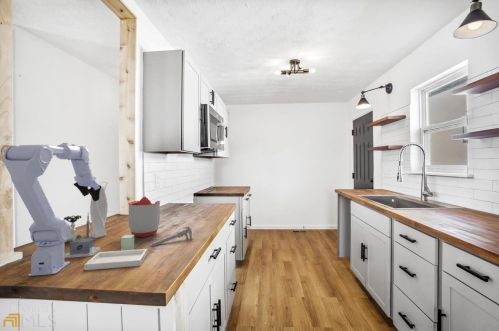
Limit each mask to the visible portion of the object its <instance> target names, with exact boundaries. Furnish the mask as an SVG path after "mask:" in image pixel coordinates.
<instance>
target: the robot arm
mask: <svg viewBox="0 0 499 331" xmlns="http://www.w3.org/2000/svg"><path fill="white" fill-rule="evenodd" d="M53 156H55V157H56V158H57V159H60V160H68V161H71V165H72V167H73V171H74V173H75V176H74V177H73V178H74V181H75V183H73V186H75V187H76V188H77V189H78V191H79V192H80V193H81V194H82V196H83V197H86V196H88V195H90V196H91V198H92V199H93V201H95V202H96V201H97V200H99V194H100V190H101V188H102V187H101V186H100V185H101V184H98V182H97V181H96V180H97V177H96V176H94V175H93V172H92V169H91V165H90V162H89V161H90V157H89V156H90V152H89V149H88V148H87V147H86V146H84V145H76V144H74V143H73V144H72V143H71V144H69V142H62V143H61V144H58V145H56V146H55V145H52V144H51V145H49V144H21V145H8V147H6V148H5V150H4V152H3V154H2V157H1V160H2V162H3V164H4V165H5V168H6V169H7V171H8V173H9V175H10V179H11V182H12V183H13V185H14V188H15V189H16V191H17V193H18V195H19V197H20V199H21V200H22V202H23V204H24V206H25V208H26V209H27V211H28V213H29V214H30V216H31V218H32V220H33V223H31V225H30V226H29V229H28V231H29V232H30V239H31V241H32V242H33V243H34V245H35V246H37V249H36V250H35V251H34V252H33V253H32V254H31V258H30V272H29V273H28V274H27V276H28V277H33V276H45V275H47V276H48V275H55V274H57V273H58V272H59V271H61V270H63V269H64V268H65V267H67V266H68V265H69V264H70V263H71V262H70V261H65V258H64V255H65V242H68V241H67V239H68V238H69V236H70V234H71V228H70V224H69V223H67V222H66V220H64V218H62V217H59V216H57V215H55V212H54V211H53V208H52V206H51V204H50V202H49V200H48V198H47V196H46V194H45V192H44V189H43V188H42V186H41V184H40V182H39V179H38V178H39V177H41V176H43V175H44V174H45V172H46V170H47V168H48V166H49V164H50V162H51V161H52V159H53Z"/></svg>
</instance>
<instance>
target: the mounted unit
mask: <svg viewBox="0 0 499 331" xmlns="http://www.w3.org/2000/svg"><path fill="white" fill-rule="evenodd" d="M95 239H96V238H82V239H76V240H74V241H72V242H69V252H67V253H65V254H64V259H69V258H82V257H94V256H95V255H96V254H97V253H98V252H100V251H101V247H102V246H96V245H95V244H96V242H95V241H96V240H95Z"/></svg>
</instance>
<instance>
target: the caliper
mask: <svg viewBox="0 0 499 331" xmlns="http://www.w3.org/2000/svg"><path fill="white" fill-rule="evenodd" d="M185 228H186V229H182V230H180V231H177V232H176V233H175V234H172V235H170V236H167V237H163V238H162V239H159V240H156V241H154V242H151V244H149V245H148V247H155V246H158V245H161V244H163V243H166V242H169V241H171V240H173V239H176V238H178V239H181V238H182V237H184V236H185V238H186V239H187V240H188V239H189V238H190V239H192V237H193V232H192V228H191V227H190V226H189V225H188V226H186V227H185Z"/></svg>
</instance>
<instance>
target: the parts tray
mask: <svg viewBox="0 0 499 331" xmlns="http://www.w3.org/2000/svg"><path fill="white" fill-rule="evenodd" d="M147 255H148V248H142V249H141V248H140V249H133V250H123V251H121V250H113V251H112V250H109V251H98V252H97V253H95V254H94V255H93V256H92V257H91V258H90V259H89V260H88V261H87V262H85V263H84V271H93V270H104V269H116V268H118V269H119V268H128V267H139V266H142V264H143V262H144V260H145V258H146V257H147Z"/></svg>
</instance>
